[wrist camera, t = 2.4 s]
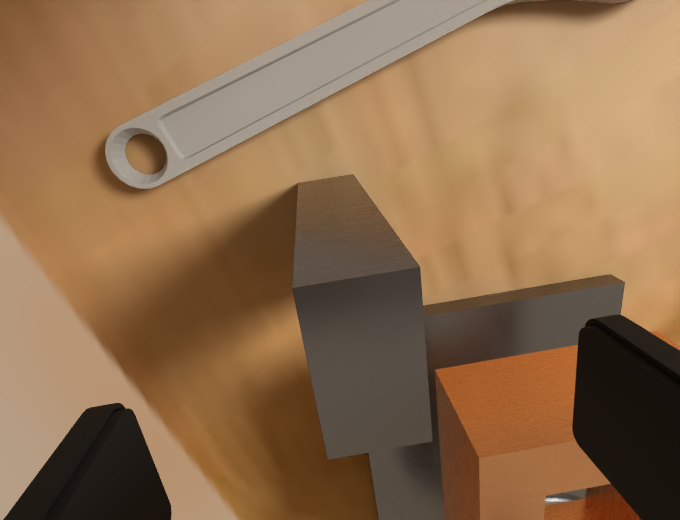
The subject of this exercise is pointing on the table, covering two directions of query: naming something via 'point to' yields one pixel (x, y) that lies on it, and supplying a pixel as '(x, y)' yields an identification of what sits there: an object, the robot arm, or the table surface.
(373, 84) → the table surface
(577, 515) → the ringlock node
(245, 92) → the adjustable wrench
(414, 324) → the grey rectangular block
